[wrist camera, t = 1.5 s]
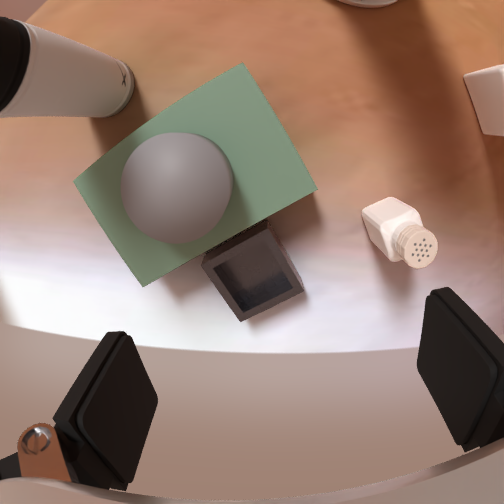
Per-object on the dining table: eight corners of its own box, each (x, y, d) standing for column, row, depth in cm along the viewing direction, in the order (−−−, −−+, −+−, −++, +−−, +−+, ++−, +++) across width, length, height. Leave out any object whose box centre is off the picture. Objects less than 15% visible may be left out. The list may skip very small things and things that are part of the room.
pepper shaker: (391, 193, 30) (436, 217, 21) (402, 227, 32) (446, 261, 23) (357, 208, 31) (393, 238, 22) (370, 242, 32) (405, 282, 23)
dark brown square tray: (267, 219, 32) (267, 228, 29) (300, 277, 34) (304, 290, 31) (205, 253, 33) (200, 265, 30) (241, 307, 35) (240, 322, 32)
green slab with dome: (245, 73, 27) (239, 49, 18) (308, 180, 30) (327, 198, 22) (97, 173, 30) (48, 189, 22) (157, 266, 34) (128, 308, 25)
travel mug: (148, 70, 27) (15, 12, 8) (115, 127, 29) (-38, 139, 10) (103, 49, 26) (-36, -2, 7) (73, 103, 28) (-79, 103, 9)
